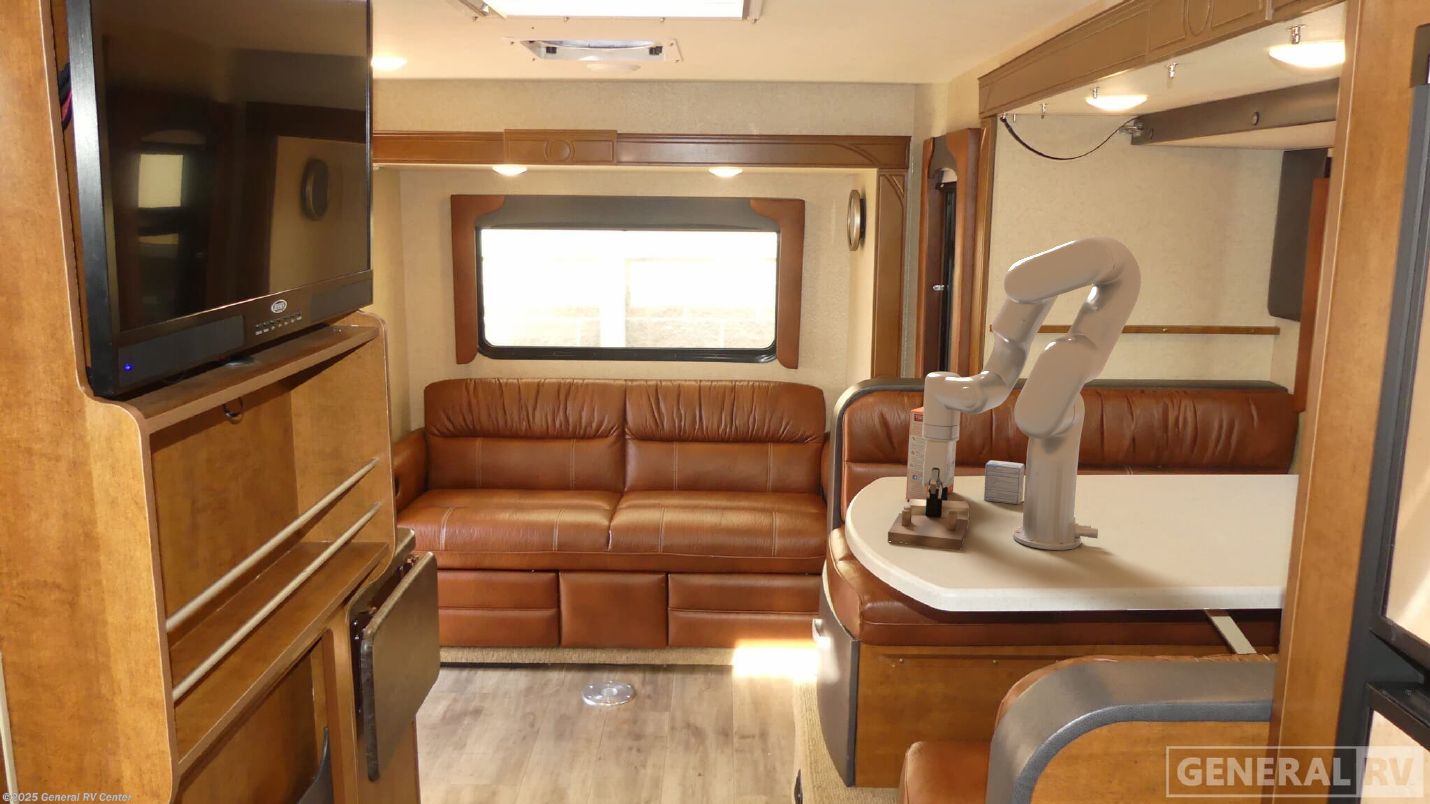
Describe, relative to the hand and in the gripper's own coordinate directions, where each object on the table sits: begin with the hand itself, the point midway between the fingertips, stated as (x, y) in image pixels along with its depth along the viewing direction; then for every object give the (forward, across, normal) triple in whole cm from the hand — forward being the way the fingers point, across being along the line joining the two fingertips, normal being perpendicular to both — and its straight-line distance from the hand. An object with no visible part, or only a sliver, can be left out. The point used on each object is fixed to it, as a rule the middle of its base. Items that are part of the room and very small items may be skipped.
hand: (936, 510), depth 214 cm
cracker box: (+2, -19, -4) cm, 19 cm away
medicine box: (+2, -21, +12) cm, 24 cm away
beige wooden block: (+2, 0, 0) cm, 2 cm away
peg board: (+2, +12, 0) cm, 12 cm away
